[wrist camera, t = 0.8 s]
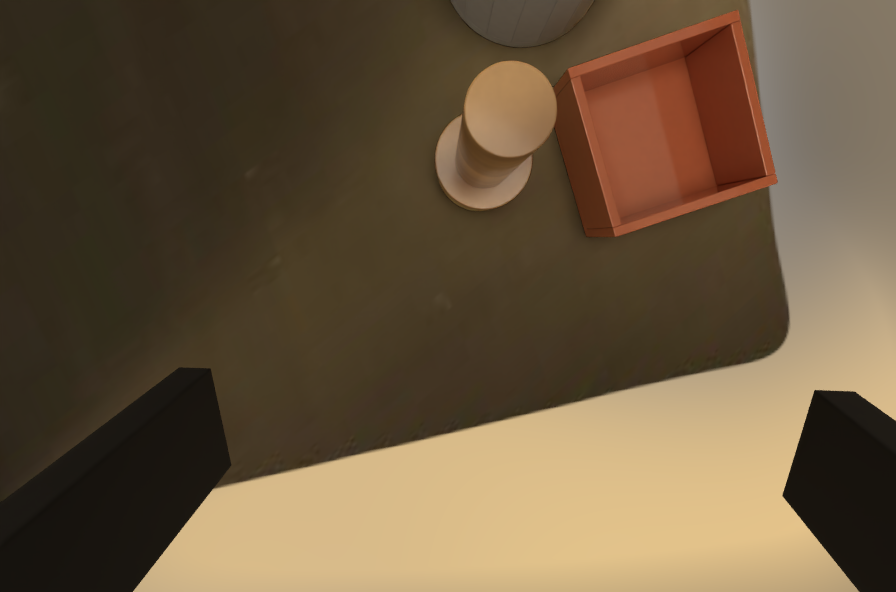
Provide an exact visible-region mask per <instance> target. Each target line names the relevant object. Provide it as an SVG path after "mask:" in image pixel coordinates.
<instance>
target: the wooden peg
mask: <svg viewBox="0 0 896 592" xmlns="http://www.w3.org/2000/svg"><path fill="white" fill-rule="evenodd" d="M556 117H557V100H556V96H555V93H554V90H553V88H552V86H551V84H550V82H549V81H548V79H547V78H546V77H545V76H544V74H543V73H542V72H540V71H539V70H538V69H536V68H535V67H533V66H532V65H529V64H527V63H524V62H520V61H502V62H498V63H495V64H493V65H491V66H489V67H487V68H486V69H484V70H483V71H482V72H480V73H479V74H478V75H477V76H476V78H475V79H474V80H473V82H472V83H471V85H470V87H469V89H468V91H467V94H466V97H465V101H464V108H463V113H462V114H461V115H459V116H457V117H456V118H455V119H453V120H452V121H451V122H450V123H449V124H448V125H447V126H446V128H445V129H444V130H443V132H442V134H441V135H440V137H439V140H438V142H437V146H436V150H435V169H436V174H437V178H438V180H439V183H440V185H441V188H442V190H443V191H444V193H445V194H446V196H447V197H448V198H449V199H450V200H451V201H452V202H454V203H455V204H456V205H458V206H460V207H462V208H464V209H467V210H471V211H486V210H491V209H495V208H498V207H500V206H503V205H505V204H507V203H508V202H510V201H511V200H513V199H514V198H515V197H516V196H517V195H518V194H519V193H520V192H521V191H522V190H523V188H524V187H525V185H526V183H527V181H528V179H529V177H530V174H531V170H532V164H533V153H534V152H535V151H536V150H537V149H538V148H539V147H540V146H541V145H542V144H543V143H544V142H545V141H546V140H547V139H548V137H549V136H550V134H551V132H552V130H553V128H554V125H555V122H556Z"/></svg>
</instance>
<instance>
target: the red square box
mask: <svg viewBox="0 0 896 592" xmlns="http://www.w3.org/2000/svg"><path fill="white" fill-rule="evenodd" d="M553 90H554V93H555V96H556V100H557V117H556V122H555V125H554V128H555V131H556V135H557V138H558V142H559V145H560V148H561V152H562V155H563V159H564V162H565V166H566V169H567V172H568V176H569V179H570V183H571V186H572V190H573V193H574V197H575V200H576V203H577V207H578V210H579V214H580V217H581V221H582V224H583V227H584V231H585V234H586V237H617V236H620V235H623V234H626V233H629V232H632V231H635V230H638V229H641V228H644V227H647V226H650V225H653V224H656V223H659V222H662V221H665V220H668V219H671V218H674V217H677V216H680V215H683V214H686V213H689V212H692V211H695V210H698V209H701V208H704V207H707V206H710V205H713V204H716V203H719V202H722V201H725V200H728V199H731V198H734V197H737V196H740V195H743V194H746V193H749V192H752V191H755V190H758V189H761V188H764V187H767V186H770V185H773V184H776V183H777V182H778V181H777V177H776V174H774V173H775V169H774V164H773V160H772V155H771V151H770V147H769V142H768V138H767V134H766V129H765V125H764V121H763V116H762V112H761V108H760V103H759V99H758V95H757V90H756V86H755V82H754V77H753V73H752V69H751V64H750V60H749V56H748V51H747V47H746V43H745V38H744V34H743V30H742V25H741V21H740V16H739V11H738V10H735V11H732V12H729V13H727V14H724V15H721V16H718V17H715V18H712V19H709V20H706V21H703V22H701V23H698V24H695V25H692V26H689V27H686V28H683V29H680V30H677V31H675V32H672V33H669V34H666V35H663V36H660V37H657V38H654V39H651V40H649V41H646V42H643V43H640V44H637V45H634V46H631V47H628V48H625V49H623V50H620V51H617V52H614V53H611V54H608V55H605V56H602V57H599V58H597V59H594V60H591V61H588V62H585V63H582V64H579V65H576V66H573V67H571V68H568V69H567V70H566V72H565V73H564V74H563V76H562V77H561V78H560V80H559V81H558V82H557V84H556V85H555V86H554V88H553Z"/></svg>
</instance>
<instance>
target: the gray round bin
mask: <svg viewBox="0 0 896 592" xmlns="http://www.w3.org/2000/svg"><path fill="white" fill-rule="evenodd" d="M594 1H595V0H451V2H452V4H453V6H454V8H455V10H456V11H457V12H458V14H459V15H460V17H461V18H462V19H463V20H464V21H465V22H466V23H467V25H468V26H470V27H471V28H472V29H473V30H474V31H475V32H477V33H478V34H480V35H481V36H483V37H485V38H486V39H489V40H491V41H493V42H495V43H498V44H502V45H505V46H511V47H532V46H538V45H542V44H545V43H548V42H551V41H553V40H555V39H557V38H559V37H561V36H562V35H564V34H566V33H567V32H568V31H569V30H571V29H572V28H573V27H574V26H575V25H576V24H577V23H578V22H579V21H580V20H581V19H582V18H583V17H584V16H585V14H586V13H587V12H588V10H589V9H590V7H591V6H592V4H593V3H594Z"/></svg>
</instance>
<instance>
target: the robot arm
mask: <svg viewBox="0 0 896 592" xmlns="http://www.w3.org/2000/svg"><path fill="white" fill-rule="evenodd" d="M230 466H231V461H230V457H229V452H228V447H227V443H226V438H225V434H224V429H223V424H222V420H221V415H220V410H219V406H218V401H217V396H216V392H215V387H214V382H213V378H212V373H211V369H206V368H178V369H177V370H175V371H174V372H173V373H171V374H170V375H169V376H167V377H166V378H165V379H164V380H162V381H161V382H160V383H158V384H157V385H156V386H154V387H153V388H152V389H150V390H149V391H148V392H146V393H145V394H144V395H142V396H141V397H140V398H138V399H137V400H136V401H134V402H133V403H132V404H130V405H129V406H128V407H126V408H125V409H124V410H122V411H121V412H120V413H119V414H117V415H116V416H115V417H113V418H112V419H111V420H109V421H108V422H107V423H105V424H104V425H103V426H101V427H100V428H99V429H97V430H96V431H95V432H93V433H92V434H91V435H89V436H88V437H87V438H85V439H84V440H83V441H81V442H80V443H79V444H78V445H76V446H75V447H74V448H72V449H71V450H70V451H68V452H67V453H66V454H64V455H63V456H62V457H60V458H59V459H58V460H56V461H55V462H54V463H52V464H51V465H50V466H48V467H47V468H46V469H44V470H43V471H42V472H40V473H39V474H38V475H36V476H35V477H34V478H33V479H31V480H30V481H29V482H27V483H26V484H25V485H23V486H22V487H21V488H19V489H18V490H17V491H15V492H14V493H13V494H11V495H10V496H9V497H7V498H6V499H5V500H3V501H1V502H0V592H133V591H134V589H135V588H136V587H137V586H138V584H139V583H140V582H141V580H142V579H143V578H144V577H145V575H146V574H147V573H148V571H149V570H150V569H151V567H152V566H153V565H154V564H155V563H156V561H157V560H158V559H159V557H160V556H161V555H162V554H163V552H164V551H165V550H166V548H167V547H168V546H169V544H170V543H171V542H172V541H173V539H174V538H175V537H176V536H177V534H178V533H179V532H180V530H181V529H182V528H183V527H184V525H185V524H186V523H187V521H188V520H189V519H190V518H191V516H192V515H193V514H194V512H195V511H196V510H197V509H198V507H199V506H200V505H201V503H202V502H203V501H204V500H205V498H206V497H207V496H208V494H209V493H210V492H211V491H212V489H213V488H214V487H215V486H216V484H217V483H218V482H219V480H220V479H221V478H222V477H223V475H224V474H225V473H226V471H227V470H228V469H229V468H230ZM783 497H784V498H785V500H786V501H787V502H788V503H789V505H790V506H791V507H792V508H793V509H794V511H795V512H796V513H797V515H798V516H799V517H800V518H801V520H802V521H803V522H804V523H805V524H806V526H807V527H808V528H809V529H810V531H811V532H812V533H813V534H814V536H815V537H816V538H817V539H818V541H819V542H820V543H821V544H822V546H823V547H824V548H825V549H826V551H827V552H828V553H829V554H830V556H831V557H832V558H833V559H834V561H835V562H836V563H837V564H838V566H839V567H840V568H841V569H842V571H843V572H844V573H845V574H846V576H847V577H848V578H849V579H850V581H851V582H852V583H853V584H854V586H855V587H856V588H857V589H858V591H859V592H896V421H895V420H894V419H892V418H891V417H889V416H888V415H887V414H885V413H883V412H882V411H881V410H880V409H878V408H877V407H875V406H874V405H873V404H871V403H870V402H868V401H867V400H866V399H864V398H862V397H861V396H860V395H859V394H857V393H856V392H850V391H822V390H815V391H814V394H813V397H812V401H811V404H810V407H809V410H808V414H807V417H806V420H805V423H804V427H803V430H802V433H801V437H800V440H799V443H798V446H797V450H796V453H795V456H794V460H793V463H792V466H791V470H790V473H789V476H788V479H787V482H786V486H785V489H784V492H783Z"/></svg>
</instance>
